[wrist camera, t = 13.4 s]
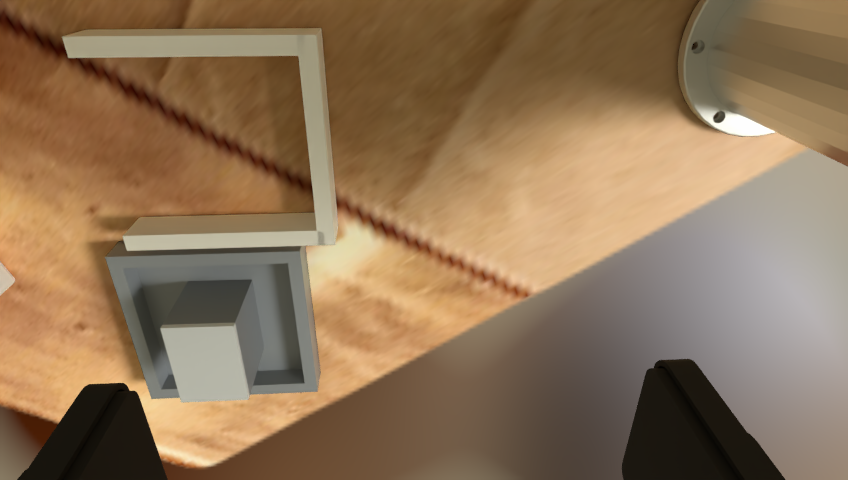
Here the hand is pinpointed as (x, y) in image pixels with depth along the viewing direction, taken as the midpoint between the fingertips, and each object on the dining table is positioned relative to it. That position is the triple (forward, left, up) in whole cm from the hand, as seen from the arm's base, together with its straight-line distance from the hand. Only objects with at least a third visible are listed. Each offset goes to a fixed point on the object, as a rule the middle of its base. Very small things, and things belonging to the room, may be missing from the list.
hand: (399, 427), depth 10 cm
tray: (+14, +19, -30) cm, 38 cm away
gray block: (+14, +19, -30) cm, 38 cm away
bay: (+12, +4, -30) cm, 33 cm away
